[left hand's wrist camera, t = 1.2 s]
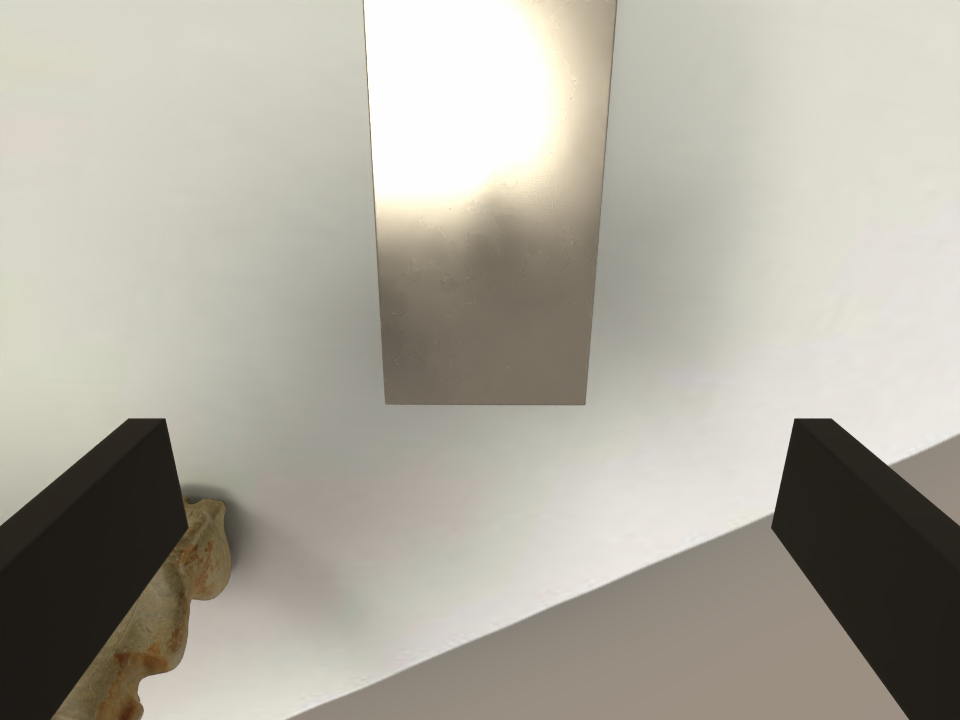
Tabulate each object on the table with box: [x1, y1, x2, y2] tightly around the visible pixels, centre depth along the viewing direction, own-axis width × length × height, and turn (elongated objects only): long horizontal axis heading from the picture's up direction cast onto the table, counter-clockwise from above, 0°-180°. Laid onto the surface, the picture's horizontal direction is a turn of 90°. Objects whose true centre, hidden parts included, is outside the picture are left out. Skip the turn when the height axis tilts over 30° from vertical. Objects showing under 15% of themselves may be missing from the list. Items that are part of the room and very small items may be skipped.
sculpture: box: [51, 496, 232, 720], centre depth 31 cm, size 6×7×15 cm
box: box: [363, 0, 617, 405], centre depth 26 cm, size 21×8×10 cm, turn 0°
